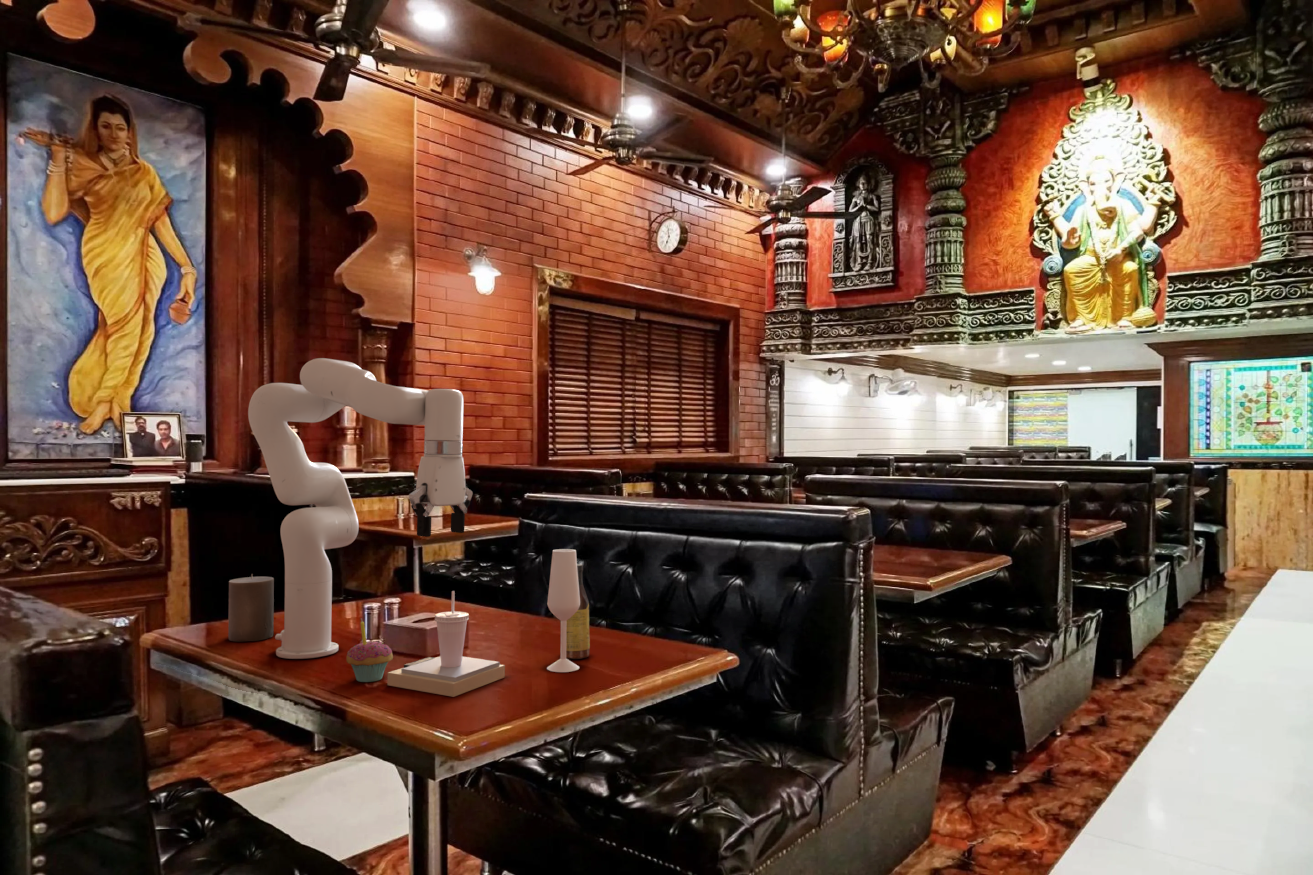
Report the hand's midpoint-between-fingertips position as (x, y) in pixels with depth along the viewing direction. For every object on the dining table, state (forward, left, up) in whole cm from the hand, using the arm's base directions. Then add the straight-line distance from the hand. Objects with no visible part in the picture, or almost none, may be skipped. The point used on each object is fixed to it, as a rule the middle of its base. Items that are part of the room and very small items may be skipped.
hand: (441, 534), depth 168 cm
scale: (+7, -6, -27) cm, 29 cm away
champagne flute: (+21, +13, -28) cm, 37 cm away
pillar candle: (-59, +1, -28) cm, 65 cm away
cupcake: (-7, -12, -28) cm, 31 cm away
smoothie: (+8, -6, -24) cm, 26 cm away
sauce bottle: (+18, +22, -28) cm, 40 cm away
